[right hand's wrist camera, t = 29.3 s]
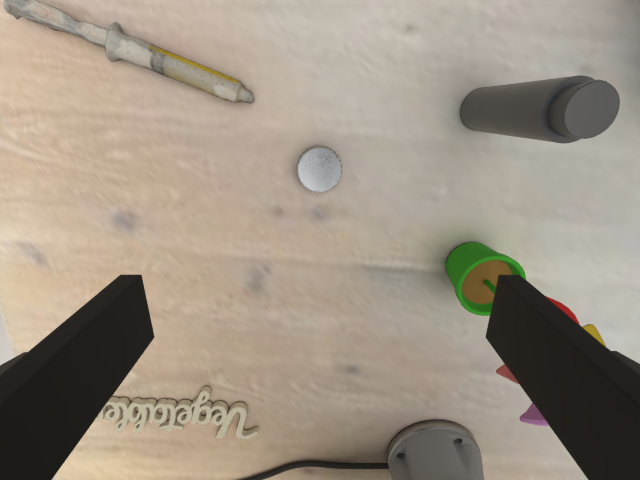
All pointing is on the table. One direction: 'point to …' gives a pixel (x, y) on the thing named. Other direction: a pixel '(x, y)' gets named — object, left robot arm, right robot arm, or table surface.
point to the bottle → (543, 109)
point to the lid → (319, 169)
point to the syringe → (133, 50)
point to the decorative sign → (172, 406)
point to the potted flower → (492, 294)
